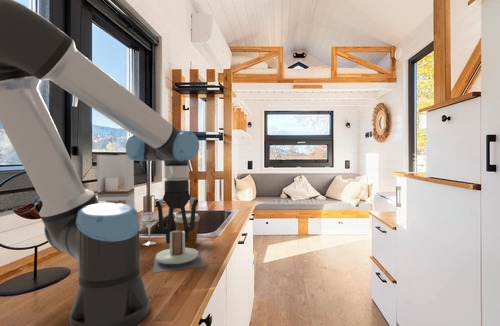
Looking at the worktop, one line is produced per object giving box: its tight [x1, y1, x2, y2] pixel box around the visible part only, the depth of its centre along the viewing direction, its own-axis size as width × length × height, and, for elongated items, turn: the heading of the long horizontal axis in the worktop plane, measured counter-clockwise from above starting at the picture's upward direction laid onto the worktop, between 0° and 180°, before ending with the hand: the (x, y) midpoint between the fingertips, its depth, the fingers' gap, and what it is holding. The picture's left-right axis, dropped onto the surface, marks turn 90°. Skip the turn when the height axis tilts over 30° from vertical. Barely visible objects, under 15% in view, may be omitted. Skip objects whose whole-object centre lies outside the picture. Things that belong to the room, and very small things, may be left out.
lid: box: [155, 230, 199, 264], centre depth 91 cm, size 13×13×8 cm
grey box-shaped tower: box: [96, 154, 136, 209], centre depth 113 cm, size 11×11×35 cm
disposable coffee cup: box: [173, 212, 201, 248], centre depth 108 cm, size 10×10×12 cm
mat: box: [152, 250, 206, 274], centre depth 91 cm, size 15×15×1 cm
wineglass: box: [139, 211, 159, 246], centre depth 112 cm, size 7×7×12 cm
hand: (177, 252), depth 91 cm, fingers closed on lid, 3 cm apart
